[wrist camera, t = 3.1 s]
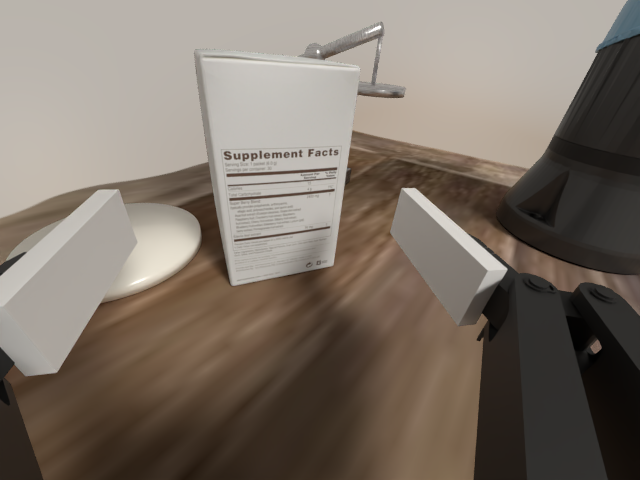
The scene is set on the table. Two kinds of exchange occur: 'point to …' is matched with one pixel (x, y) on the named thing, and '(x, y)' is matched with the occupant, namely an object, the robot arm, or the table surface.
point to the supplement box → (276, 157)
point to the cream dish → (145, 247)
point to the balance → (371, 87)
